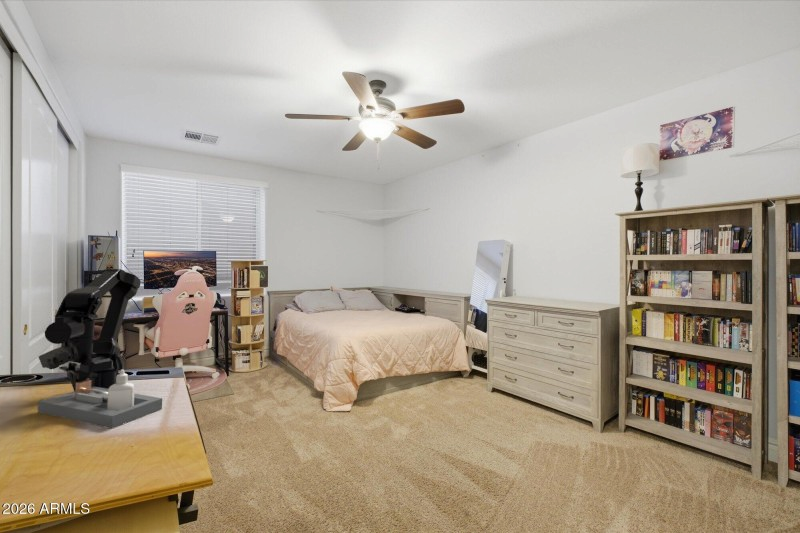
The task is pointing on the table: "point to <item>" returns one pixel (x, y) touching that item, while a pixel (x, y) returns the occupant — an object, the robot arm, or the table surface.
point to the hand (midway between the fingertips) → (76, 391)
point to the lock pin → (89, 389)
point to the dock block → (97, 408)
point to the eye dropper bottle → (120, 393)
